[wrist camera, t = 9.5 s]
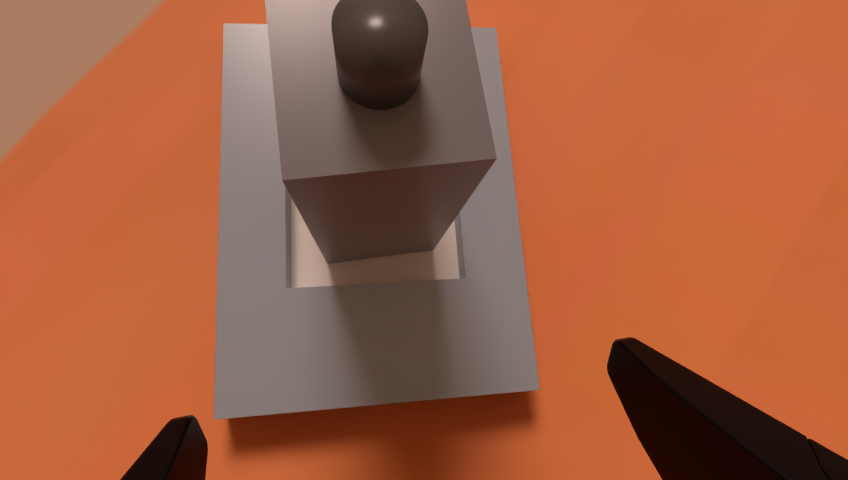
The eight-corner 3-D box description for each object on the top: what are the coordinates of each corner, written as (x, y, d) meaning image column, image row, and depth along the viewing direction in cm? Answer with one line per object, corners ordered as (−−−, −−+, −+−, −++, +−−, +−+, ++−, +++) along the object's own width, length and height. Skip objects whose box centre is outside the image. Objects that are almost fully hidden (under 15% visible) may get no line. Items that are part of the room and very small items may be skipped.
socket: (526, 386, 19) (539, 390, 18) (226, 413, 17) (213, 419, 16) (487, 48, 22) (495, 27, 21) (234, 45, 21) (223, 23, 19)
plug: (433, 250, 19) (519, 126, 8) (327, 263, 19) (265, 149, 8) (417, 152, 20) (476, -77, 9) (315, 162, 20) (246, -73, 9)
